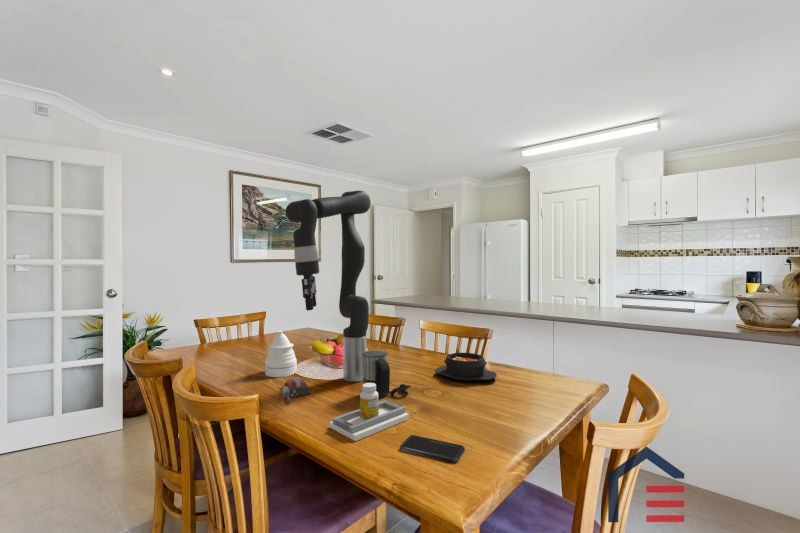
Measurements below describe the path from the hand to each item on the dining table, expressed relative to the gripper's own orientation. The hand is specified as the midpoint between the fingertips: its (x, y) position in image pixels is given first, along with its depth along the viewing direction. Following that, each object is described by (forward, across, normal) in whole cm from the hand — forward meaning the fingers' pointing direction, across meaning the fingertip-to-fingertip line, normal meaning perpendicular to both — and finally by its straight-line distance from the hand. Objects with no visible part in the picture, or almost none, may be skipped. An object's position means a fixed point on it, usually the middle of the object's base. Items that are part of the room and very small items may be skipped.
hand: (311, 308), depth 129 cm
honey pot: (+31, +35, +20) cm, 51 cm away
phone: (+34, -37, -31) cm, 60 cm away
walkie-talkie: (+31, +8, +10) cm, 34 cm away
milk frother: (+34, +4, -22) cm, 41 cm away
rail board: (+33, -20, -16) cm, 42 cm away
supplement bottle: (+31, -20, -16) cm, 41 cm away
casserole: (+37, +20, -55) cm, 70 cm away
